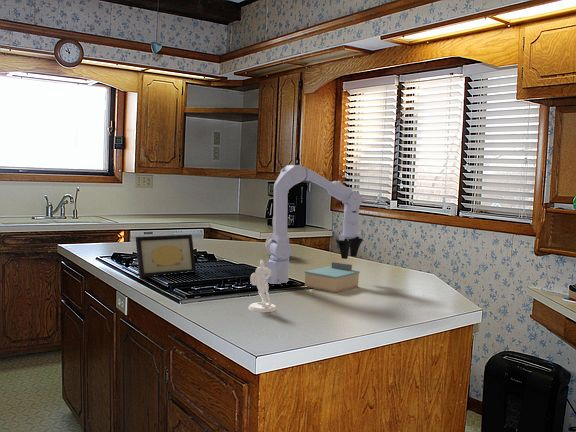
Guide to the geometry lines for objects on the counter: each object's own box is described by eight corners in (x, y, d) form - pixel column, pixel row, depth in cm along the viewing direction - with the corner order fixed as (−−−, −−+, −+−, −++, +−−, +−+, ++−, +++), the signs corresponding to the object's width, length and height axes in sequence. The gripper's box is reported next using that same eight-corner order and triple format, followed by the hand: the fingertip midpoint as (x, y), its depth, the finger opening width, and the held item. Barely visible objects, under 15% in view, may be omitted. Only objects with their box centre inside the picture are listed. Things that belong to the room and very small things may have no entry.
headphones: (287, 259, 270) (289, 216, 268) (265, 258, 269) (267, 215, 267) (284, 253, 288) (286, 213, 286) (264, 252, 287) (266, 212, 286)
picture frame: (141, 278, 212) (140, 237, 212) (130, 276, 218) (129, 236, 218) (196, 273, 226) (195, 234, 226) (184, 271, 233) (183, 234, 233)
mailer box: (335, 292, 203) (336, 278, 202) (304, 286, 210) (305, 273, 210) (358, 286, 215) (358, 273, 215) (328, 281, 223) (329, 268, 223)
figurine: (242, 307, 176) (244, 258, 174) (263, 303, 182) (265, 256, 181) (261, 313, 170) (263, 262, 168) (283, 309, 176) (285, 260, 174)
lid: (336, 278, 202) (336, 270, 202) (304, 272, 210) (305, 265, 210) (359, 272, 215) (360, 265, 215) (329, 267, 223) (329, 260, 223)
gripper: (351, 224, 213) (349, 261, 214) (368, 222, 225) (366, 256, 227) (334, 222, 217) (332, 258, 218) (352, 220, 229) (350, 254, 230)
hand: (348, 257), depth 223 cm, fingers open, 7 cm apart
